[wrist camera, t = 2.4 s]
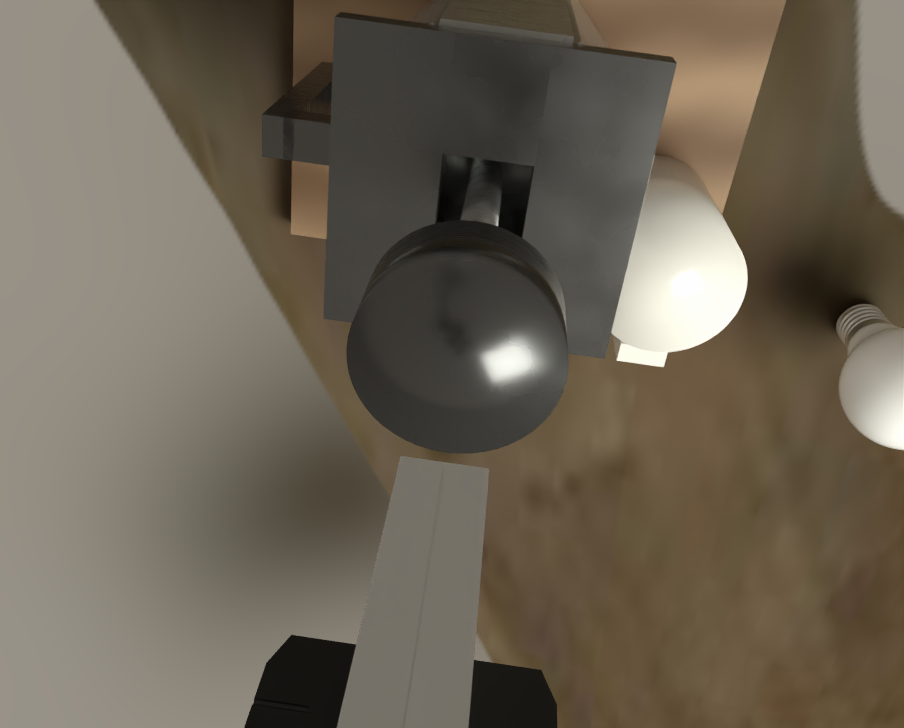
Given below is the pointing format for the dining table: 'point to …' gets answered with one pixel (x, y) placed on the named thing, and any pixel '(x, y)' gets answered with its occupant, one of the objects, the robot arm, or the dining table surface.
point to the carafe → (481, 139)
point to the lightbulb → (873, 374)
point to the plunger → (463, 320)
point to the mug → (677, 270)
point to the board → (622, 27)
